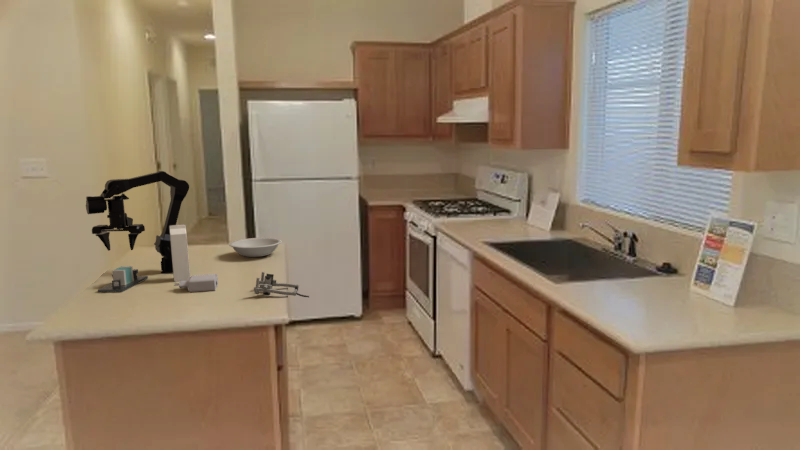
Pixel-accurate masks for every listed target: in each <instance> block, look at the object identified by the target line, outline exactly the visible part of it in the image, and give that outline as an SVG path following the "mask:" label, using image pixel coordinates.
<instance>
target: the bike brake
mask: <svg viewBox="0 0 800 450" xmlns="http://www.w3.org/2000/svg"><path fill="white" fill-rule="evenodd" d="M265 273H266V272H265V271H261V275H260V276H261V277H256V282H255V286H254V287H253V291H254V294H255V295H259V293H260V292H262V295H268V296H270V295H271V293H272V294H277V295H285V296H294V297H295V296H299V297H303V298H310V295H305V294H300V293H298V292H299V287H300V285H299V284H294V283H287V282H286V283H285V282H277V279H274V276H275V275H274V274H272V273H266V275H265ZM273 287H286V288H287V287H288V288H291V289H292V288H294V290H293V291H287V290H286V291H285V290H279V289H275V288H273Z"/></svg>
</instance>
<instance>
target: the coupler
mask: <svg viewBox="0 0 800 450" xmlns="http://www.w3.org/2000/svg"><path fill="white" fill-rule="evenodd" d="M133 269H134V268H133V266H128V265H127V266H120V267H118V268H116V269H113V270H112V271H111V272H112V273H111V275H112V280H114V279H116V278H119V280H121V284H127V283H129V282H131V281H132V280H134V278H133Z"/></svg>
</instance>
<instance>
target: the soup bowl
mask: <svg viewBox="0 0 800 450" xmlns="http://www.w3.org/2000/svg"><path fill="white" fill-rule="evenodd" d="M282 242H283V241H282V240H281V239H279V238H275V237H252V238H251V237H250V238H242V239H236V240H233V241H231V242H229V244H228V245H229V247H231V248H233V250H234V251H235V252H236V253H237V254H238V255H241V256H243V257H249V258H257V257H265V256H268V255H271V254H272V253H274V252H275V251H276V250H277V248H278V246H279V245H280V244H282Z"/></svg>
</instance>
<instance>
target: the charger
mask: <svg viewBox="0 0 800 450" xmlns="http://www.w3.org/2000/svg"><path fill="white" fill-rule="evenodd" d="M218 279H219V278H218V273H211V274H210V273H209V274H194V275H193V274H192V275H190V278H189V279H188V280H185V281H178V282H179V283H178V282H177V283H176V282H175V283H174V284H173V287H174V286H175V287H177V286H178V288H179V289H187V291H188V292H190V293H197V292H211V291H214V292H215V291H216V290H217V288H218V285H219V280H218Z"/></svg>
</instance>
